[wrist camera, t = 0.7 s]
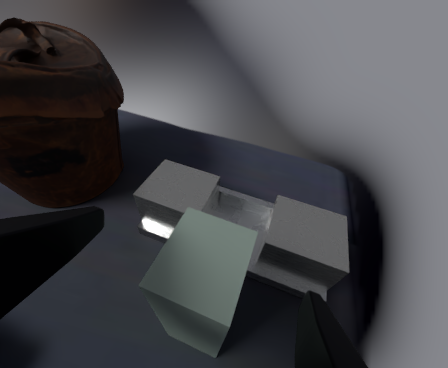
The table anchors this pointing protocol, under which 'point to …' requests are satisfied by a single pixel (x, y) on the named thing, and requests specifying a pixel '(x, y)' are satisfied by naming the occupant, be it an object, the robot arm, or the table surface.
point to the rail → (252, 227)
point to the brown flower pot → (56, 114)
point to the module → (199, 279)
